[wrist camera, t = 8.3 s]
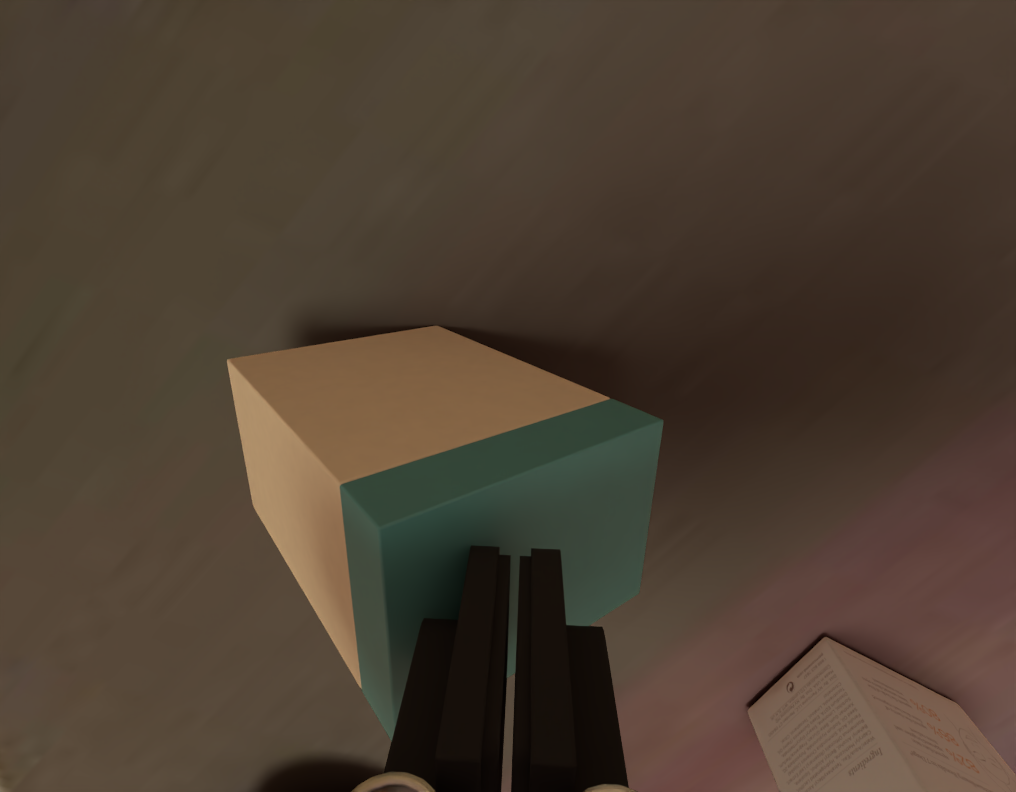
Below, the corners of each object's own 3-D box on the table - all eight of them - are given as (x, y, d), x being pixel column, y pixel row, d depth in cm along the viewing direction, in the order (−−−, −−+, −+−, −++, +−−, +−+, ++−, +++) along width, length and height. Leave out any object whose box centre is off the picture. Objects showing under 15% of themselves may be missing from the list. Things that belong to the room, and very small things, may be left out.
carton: (665, 419, 12) (378, 528, 8) (640, 594, 14) (396, 751, 10) (437, 324, 20) (226, 358, 16) (440, 448, 22) (252, 506, 18)
